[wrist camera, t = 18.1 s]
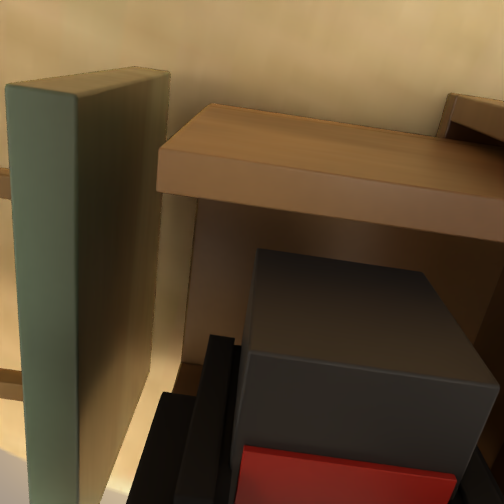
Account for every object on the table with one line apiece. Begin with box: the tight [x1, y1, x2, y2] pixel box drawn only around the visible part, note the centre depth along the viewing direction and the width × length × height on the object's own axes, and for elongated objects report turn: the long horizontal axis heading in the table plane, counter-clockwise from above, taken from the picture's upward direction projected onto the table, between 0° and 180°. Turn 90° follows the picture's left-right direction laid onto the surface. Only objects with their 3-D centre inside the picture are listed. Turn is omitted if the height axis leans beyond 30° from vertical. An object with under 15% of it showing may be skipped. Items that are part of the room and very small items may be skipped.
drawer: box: [0, 66, 504, 504], centre depth 14 cm, size 19×11×8 cm, turn 82°
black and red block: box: [228, 248, 500, 504], centre depth 9 cm, size 7×3×4 cm, turn 172°
